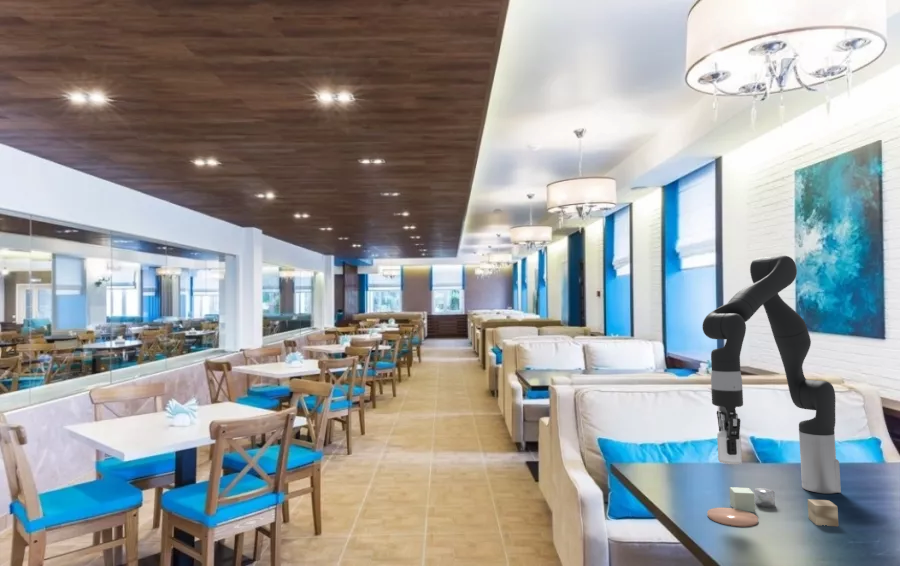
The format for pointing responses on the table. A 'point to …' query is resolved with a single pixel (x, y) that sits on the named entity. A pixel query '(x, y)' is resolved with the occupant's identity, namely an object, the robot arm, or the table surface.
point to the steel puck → (764, 497)
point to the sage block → (742, 499)
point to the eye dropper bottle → (722, 450)
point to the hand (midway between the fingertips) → (729, 452)
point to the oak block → (823, 512)
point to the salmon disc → (732, 517)
